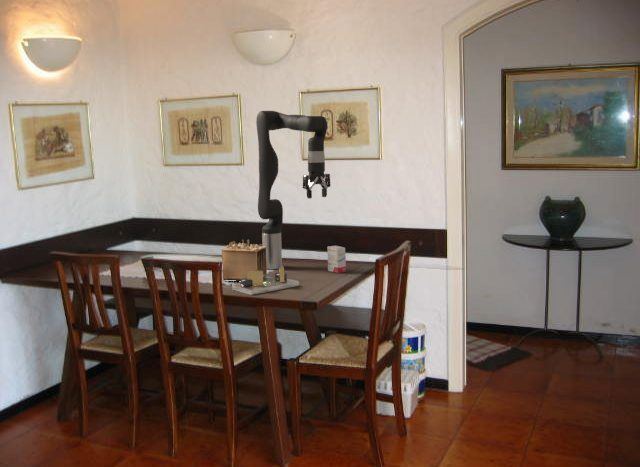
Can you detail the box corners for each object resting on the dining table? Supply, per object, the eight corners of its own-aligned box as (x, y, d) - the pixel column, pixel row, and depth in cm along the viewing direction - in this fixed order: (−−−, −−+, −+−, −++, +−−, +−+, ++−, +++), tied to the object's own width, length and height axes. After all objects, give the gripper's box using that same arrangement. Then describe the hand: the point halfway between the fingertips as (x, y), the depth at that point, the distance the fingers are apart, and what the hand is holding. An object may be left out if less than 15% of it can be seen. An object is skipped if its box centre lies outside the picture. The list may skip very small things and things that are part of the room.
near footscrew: (240, 286, 305) (239, 272, 304) (241, 283, 310) (241, 270, 309) (262, 286, 305) (262, 272, 304) (263, 283, 310) (263, 269, 309)
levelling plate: (231, 289, 310) (231, 278, 310) (278, 280, 326) (278, 270, 326) (251, 294, 299) (251, 283, 299) (299, 285, 315) (298, 275, 315)
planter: (221, 288, 314) (221, 244, 311) (213, 276, 338) (212, 236, 335) (278, 285, 321) (278, 243, 319) (266, 274, 345) (266, 235, 342)
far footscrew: (274, 278, 321) (274, 264, 320) (286, 277, 322) (286, 264, 321) (276, 282, 312) (275, 268, 311) (288, 281, 312) (287, 268, 312)
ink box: (346, 272, 343) (346, 247, 341) (337, 273, 340) (337, 248, 339) (336, 269, 350) (335, 245, 349) (327, 270, 348) (326, 246, 346)
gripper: (323, 160, 334) (323, 196, 336) (298, 161, 325) (299, 198, 327) (333, 160, 328) (334, 197, 331) (309, 162, 319) (310, 199, 321)
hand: (316, 197), depth 329 cm, fingers open, 8 cm apart
